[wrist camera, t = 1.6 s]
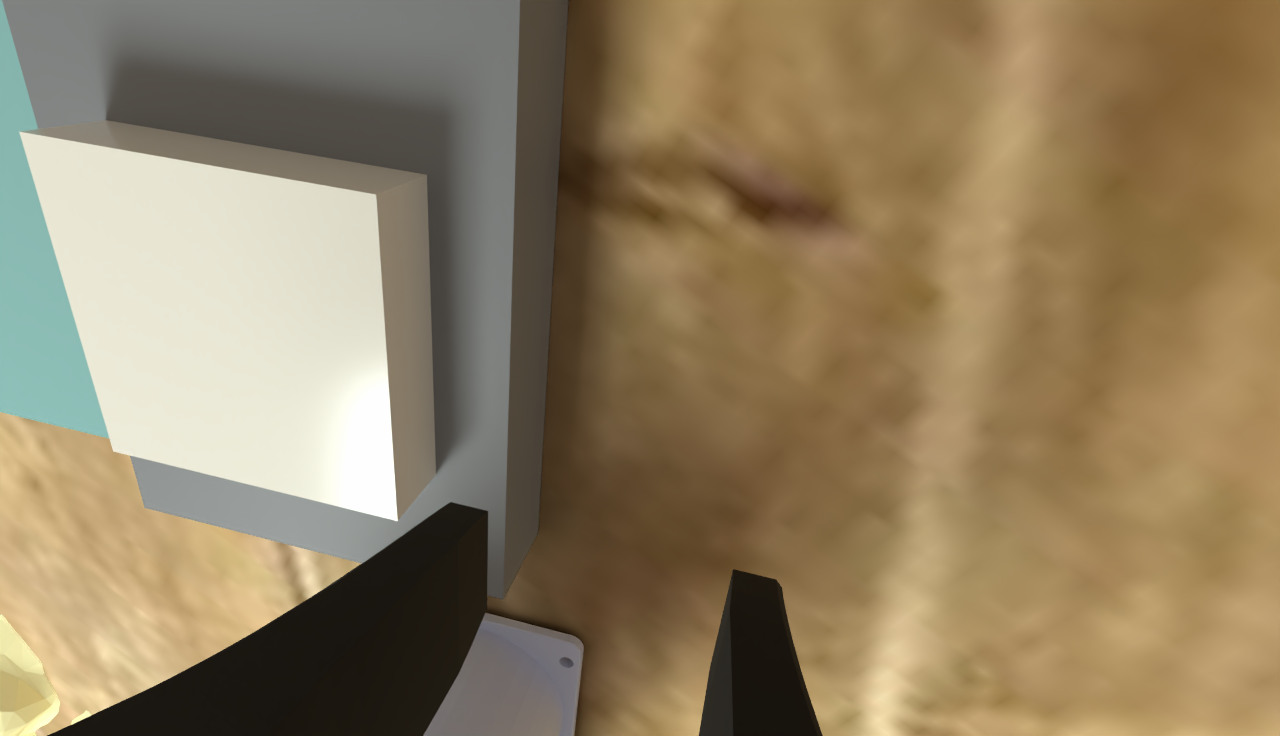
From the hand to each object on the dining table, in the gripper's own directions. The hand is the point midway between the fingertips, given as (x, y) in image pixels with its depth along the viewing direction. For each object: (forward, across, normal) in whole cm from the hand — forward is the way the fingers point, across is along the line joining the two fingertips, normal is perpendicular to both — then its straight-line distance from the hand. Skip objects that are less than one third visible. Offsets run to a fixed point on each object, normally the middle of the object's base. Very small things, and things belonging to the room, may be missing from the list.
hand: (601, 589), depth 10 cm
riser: (+9, +10, 0) cm, 14 cm away
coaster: (+6, +10, 0) cm, 12 cm away
